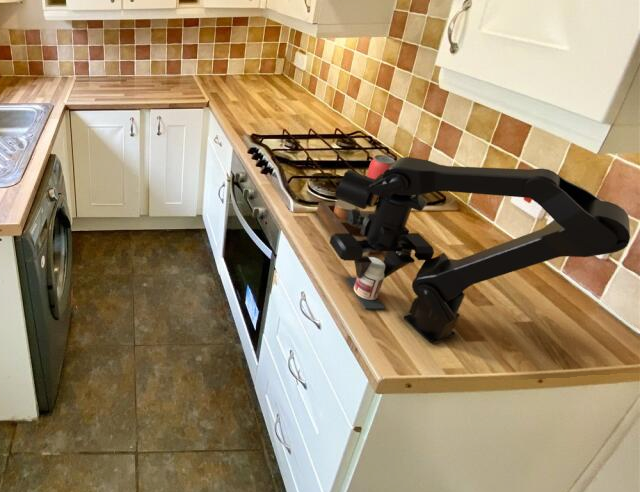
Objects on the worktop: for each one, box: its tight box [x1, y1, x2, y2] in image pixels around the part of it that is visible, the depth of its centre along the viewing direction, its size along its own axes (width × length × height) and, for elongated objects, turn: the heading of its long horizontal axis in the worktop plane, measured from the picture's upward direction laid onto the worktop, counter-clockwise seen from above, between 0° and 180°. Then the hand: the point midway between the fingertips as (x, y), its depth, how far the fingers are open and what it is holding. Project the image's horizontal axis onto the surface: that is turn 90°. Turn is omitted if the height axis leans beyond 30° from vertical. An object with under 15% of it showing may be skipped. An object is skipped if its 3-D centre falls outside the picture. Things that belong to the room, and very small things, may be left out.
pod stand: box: [315, 201, 384, 255], centre depth 110 cm, size 10×17×4 cm, turn 0°
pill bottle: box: [353, 256, 385, 300], centre depth 89 cm, size 5×5×8 cm
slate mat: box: [345, 277, 386, 311], centre depth 91 cm, size 9×4×1 cm, turn 179°
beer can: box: [366, 154, 396, 198], centre depth 126 cm, size 7×7×12 cm
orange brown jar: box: [333, 199, 357, 218], centre depth 113 cm, size 5×5×6 cm
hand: (370, 277), depth 89 cm, fingers closed on pill bottle, 5 cm apart
